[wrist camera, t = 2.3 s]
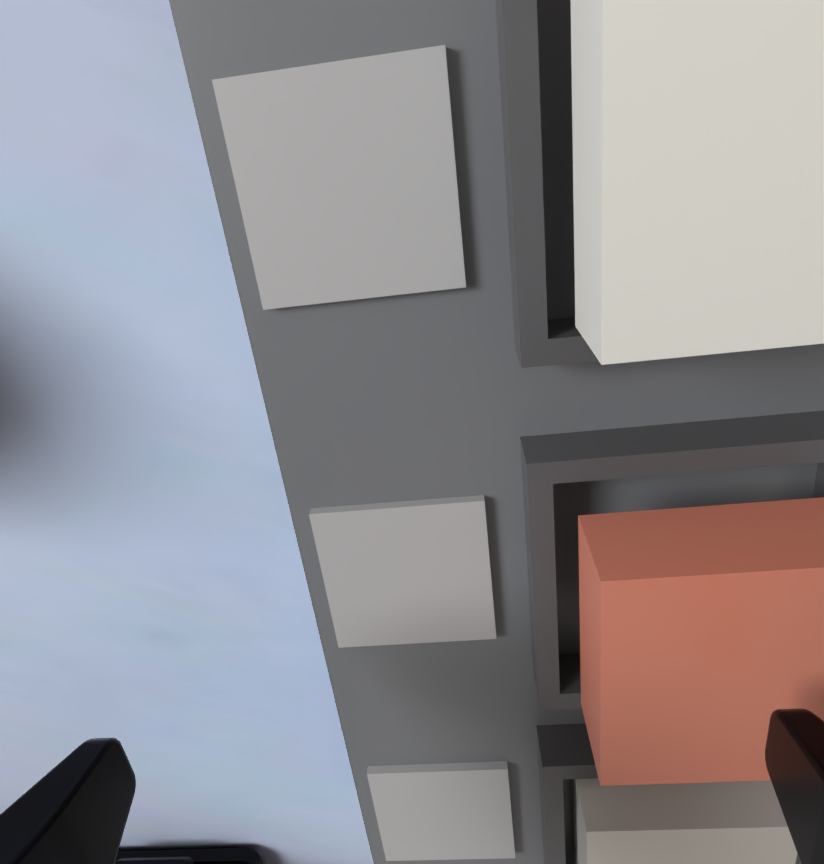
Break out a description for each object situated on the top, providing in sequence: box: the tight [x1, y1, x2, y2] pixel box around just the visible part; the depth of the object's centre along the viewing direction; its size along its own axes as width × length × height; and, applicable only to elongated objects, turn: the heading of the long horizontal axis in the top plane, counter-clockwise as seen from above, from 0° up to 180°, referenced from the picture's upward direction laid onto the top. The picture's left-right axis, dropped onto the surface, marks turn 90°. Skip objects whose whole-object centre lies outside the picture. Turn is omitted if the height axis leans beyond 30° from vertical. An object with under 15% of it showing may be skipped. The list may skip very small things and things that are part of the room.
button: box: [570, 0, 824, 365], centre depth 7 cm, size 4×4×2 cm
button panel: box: [169, 0, 824, 864], centre depth 13 cm, size 22×12×4 cm, turn 7°
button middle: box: [578, 497, 824, 786], centre depth 10 cm, size 4×4×2 cm
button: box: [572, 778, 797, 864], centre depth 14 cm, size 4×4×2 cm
